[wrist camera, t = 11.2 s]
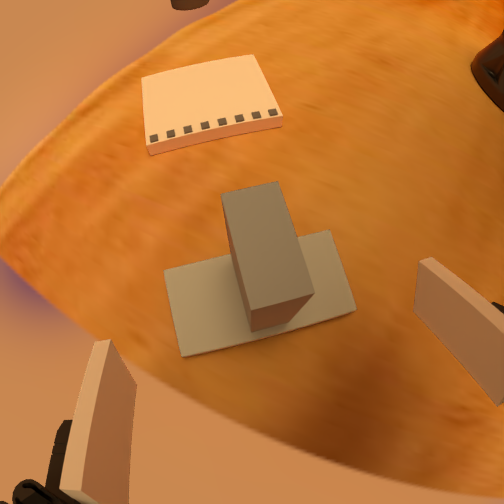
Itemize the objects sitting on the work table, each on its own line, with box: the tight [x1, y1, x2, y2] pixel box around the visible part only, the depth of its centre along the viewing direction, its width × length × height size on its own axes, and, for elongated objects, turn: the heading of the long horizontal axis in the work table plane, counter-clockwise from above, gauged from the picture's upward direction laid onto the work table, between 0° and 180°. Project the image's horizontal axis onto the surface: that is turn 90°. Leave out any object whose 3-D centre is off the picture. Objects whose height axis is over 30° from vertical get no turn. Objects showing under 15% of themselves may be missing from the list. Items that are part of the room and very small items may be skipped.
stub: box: [163, 181, 357, 357], centre depth 18 cm, size 6×12×10 cm, turn 105°
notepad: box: [142, 54, 283, 156], centre depth 28 cm, size 10×12×2 cm
